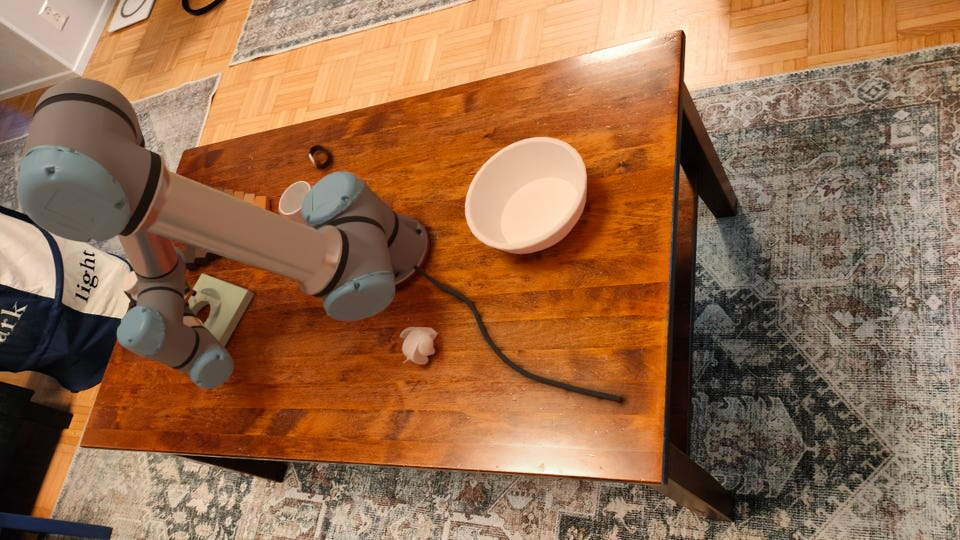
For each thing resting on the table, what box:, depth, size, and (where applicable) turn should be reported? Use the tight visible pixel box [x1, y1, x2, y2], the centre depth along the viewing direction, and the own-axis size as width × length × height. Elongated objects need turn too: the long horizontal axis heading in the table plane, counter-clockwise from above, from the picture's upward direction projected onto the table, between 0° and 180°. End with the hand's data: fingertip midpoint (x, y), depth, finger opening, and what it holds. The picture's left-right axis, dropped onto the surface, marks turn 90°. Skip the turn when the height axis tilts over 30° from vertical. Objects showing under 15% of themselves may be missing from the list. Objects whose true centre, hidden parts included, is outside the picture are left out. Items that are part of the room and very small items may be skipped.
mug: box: [278, 180, 314, 229], centre depth 139 cm, size 12×8×12 cm
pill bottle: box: [121, 270, 138, 301], centre depth 137 cm, size 6×6×11 cm
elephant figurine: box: [399, 326, 439, 365], centre depth 114 cm, size 7×8×6 cm
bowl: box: [464, 136, 588, 255], centre depth 115 cm, size 22×22×8 cm
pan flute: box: [183, 182, 271, 271], centre depth 161 cm, size 25×3×25 cm
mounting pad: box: [188, 273, 255, 348], centre depth 146 cm, size 18×18×2 cm
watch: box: [308, 144, 332, 171], centre depth 153 cm, size 8×5×4 cm, turn 28°
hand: (140, 280), depth 140 cm, fingers closed on pill bottle, 6 cm apart
